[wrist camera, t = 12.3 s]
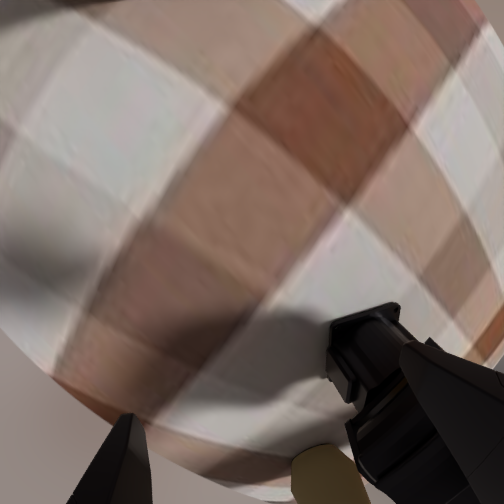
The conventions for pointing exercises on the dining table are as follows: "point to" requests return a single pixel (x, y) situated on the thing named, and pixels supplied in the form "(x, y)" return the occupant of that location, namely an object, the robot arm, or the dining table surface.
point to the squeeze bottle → (326, 478)
